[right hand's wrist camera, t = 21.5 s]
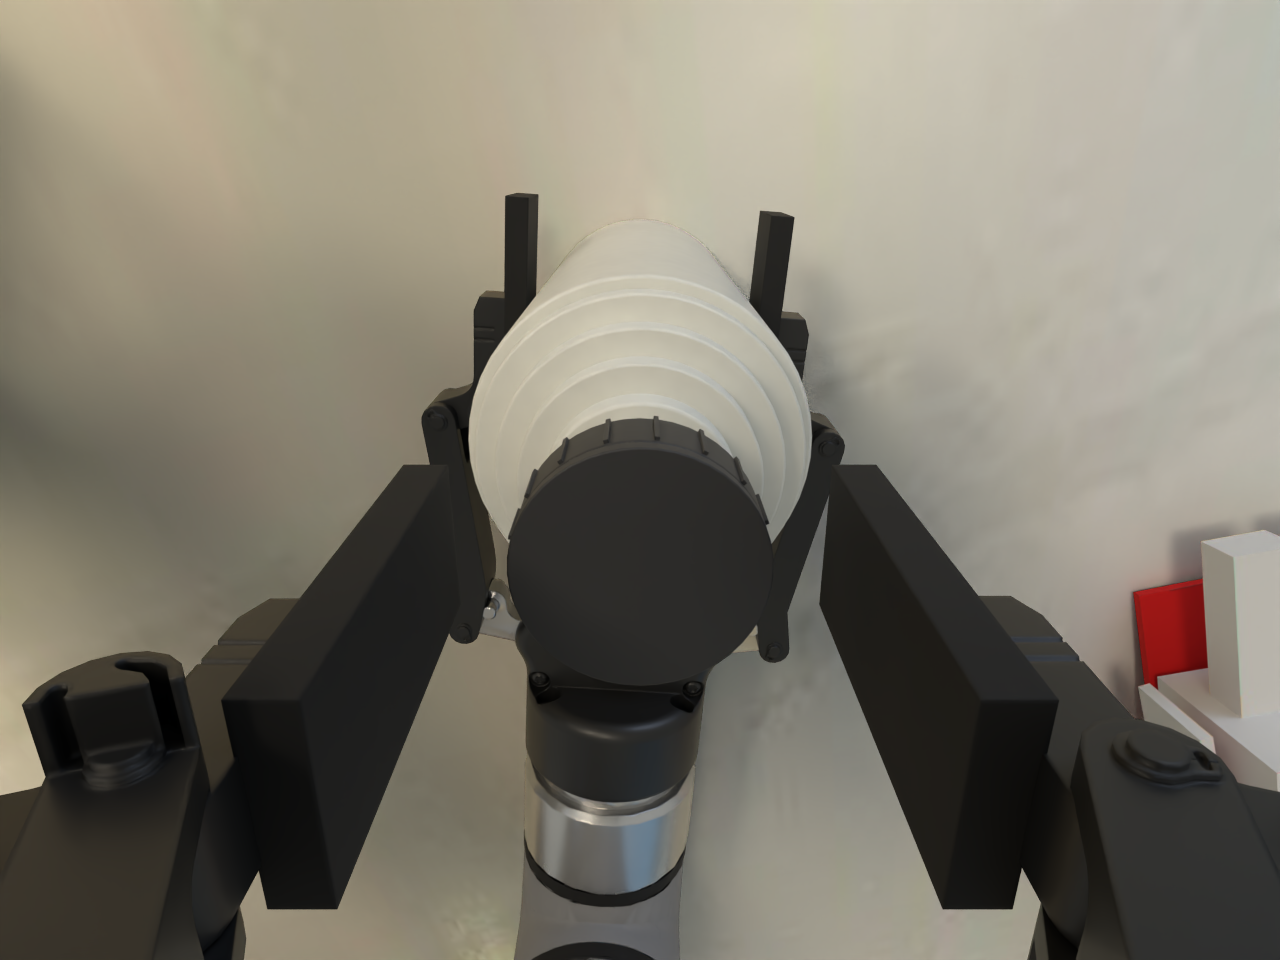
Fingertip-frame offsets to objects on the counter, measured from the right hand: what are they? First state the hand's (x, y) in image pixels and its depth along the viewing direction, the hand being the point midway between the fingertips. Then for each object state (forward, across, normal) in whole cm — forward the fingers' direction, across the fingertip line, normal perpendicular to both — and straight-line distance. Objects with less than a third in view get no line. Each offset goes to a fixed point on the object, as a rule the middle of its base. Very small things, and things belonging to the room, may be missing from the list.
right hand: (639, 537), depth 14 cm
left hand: (+16, 0, -5) cm, 17 cm away
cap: (-1, 0, 0) cm, 1 cm away
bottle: (+22, 0, 0) cm, 22 cm away
